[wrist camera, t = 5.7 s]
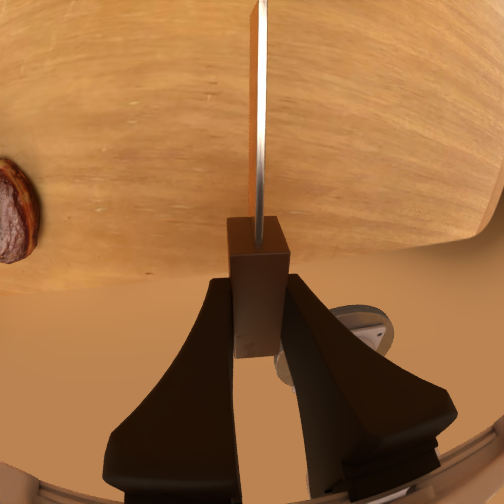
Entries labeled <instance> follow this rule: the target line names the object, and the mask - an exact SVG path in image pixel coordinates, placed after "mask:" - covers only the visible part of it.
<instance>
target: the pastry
mask: <svg viewBox="0 0 504 504" xmlns="http://www.w3.org/2000/svg"><path fill="white" fill-rule="evenodd" d="M39 221H40V216H39V211H38V205H37V201H36V198H35V195H34V192H33V188H32V185H31V183H30V182H29V180H28V179H27V178H26V177H25V176H24V175H23V173H22V172H21V171H20V170H19V169H18V167H17V166H16V165H15V164H13V163H12V162H10V161H8V160H7V159H3V160H0V262H2V263H6V264H11V263H14V262H17V261H20V260H22V259H24V258H26V257H27V256H29V255H30V254H31V253H32V251H33V250H34V248H35V247H36V246H37V238H38V229H39Z"/></svg>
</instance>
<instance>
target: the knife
mask: <svg viewBox="0 0 504 504" xmlns="http://www.w3.org/2000/svg"><path fill="white" fill-rule="evenodd" d="M267 39H268V0H258V1H257V3H256V4H255V6H254V8H253V10H252V12H251V14H250V65H249V217H233V218H227V243H228V266H229V278H230V289H231V301H232V321H233V339H234V358H235V359H239V358H253V357H264V356H276V355H279V351H280V343H281V339H280V335H281V327H282V318H283V309H284V300H285V291H286V287H287V283H288V272H289V263H290V253H291V252H290V250H289V247H288V244H287V242H286V239H285V237H284V234H283V231H282V229H281V226H280V224H279V221H278V219H277V216H264V185H265V147H266V101H267Z"/></svg>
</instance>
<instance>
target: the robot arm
mask: <svg viewBox="0 0 504 504" xmlns="http://www.w3.org/2000/svg"><path fill="white" fill-rule="evenodd" d="M385 330H386V328H385V326H384V325H376V326H371V327H365V328H359V329H353V330H349V329H348V328H347V327H346V326H345V325H343V324H342V323H341V322H340V321H339V320H338V319H337V318H336V317H335V316H334V315H333V314H332V313H331V312H330V311H329V309H328V308H327V307H326V306H325V305H324V304H323V303H322V302H321V301H320V300H319V299H318V298H317V297H316V295H315V294H314V293H313V292H312V291H311V290H310V289H309V287H308V286H307V285H306V284H305V283H304V281H303V280H302V279H301V278H300V276H298V274H288V283H287V287H286V291H285V300H284V309H283V318H282V327H281V335H280V339H281V343H282V347H283V350H284V353H285V357H286V360H287V364H288V367H289V371H290V374H291V377H292V381H293V388H292V391H293V393H296V396H297V401H298V406H299V412H300V418H301V424H302V431H303V437H304V444H305V452H306V460H307V474H306V482H307V490H308V494H309V498H310V500H306V501H300V502H295V503H288V504H485V503H486V502H488V501H489V500H490V499H491V498H492V497H493V496H494V495H495V494H496V493H497V492H498V491H499V490H500V489H501V488H502V487H503V486H504V415H503V416H502V417H501V418H499V419H498V420H497V421H496V422H495V423H494V424H493V425H492V426H490V427H489V428H487V429H486V430H484V431H483V432H481V433H479V434H478V435H476V436H475V437H473V438H471V439H469V440H468V441H466V442H464V443H463V444H461V445H459V446H457V447H455V448H453V449H452V450H450V451H448V452H446V453H444V454H442V455H440V453H439V451H438V448H437V447H438V442H437V440H436V436H437V435H439V434H440V433H441V432H442V431H443V430H445V429H446V428H447V427H448V426H449V425H450V424H451V423H452V422H453V421H454V420H455V419H456V418H457V415H458V412H457V410H456V408H455V406H454V404H453V402H452V399H451V398H450V396H449V394H448V392H447V391H446V390H445V389H443V388H441V387H439V386H436V385H434V384H432V383H430V382H427V381H425V380H423V379H421V378H419V377H417V376H415V375H413V374H411V373H410V372H408V371H406V370H404V369H402V368H401V367H399V366H397V365H396V364H394V363H392V362H391V361H389V360H388V359H386V358H385V357H383V356H382V355H380V354H379V353H377V352H376V350H377V348H378V346H379V343H380V341H381V339H382V337H383V335H384V332H385ZM233 350H234V339H233V321H232V301H231V289H230V278H213V279H212V280H210V282H209V287H208V291H207V294H206V297H205V300H204V303H203V305H202V308H201V310H200V312H199V315H198V317H197V319H196V321H195V324H194V326H193V328H192V329H191V332H190V333H189V335H188V337H187V339H186V341H185V343H184V345H183V346H182V348H181V350H180V351H179V353H178V355H177V356H176V358H175V359H174V361H173V362H172V364H171V366H170V367H169V368H168V370H167V371H166V372H165V374H164V375H163V377H162V378H161V379H160V381H159V382H158V384H157V385H156V386H155V387H154V388H153V390H152V391H151V392H150V393H149V394H148V395H147V397H146V398H145V399H144V400H143V401H142V402H141V404H140V405H139V406H138V407H137V408H136V409H135V410H134V411H133V412H132V413H131V414H130V415H129V416H128V417H127V418H126V419H125V420H124V421H123V422H122V423H121V424H120V425H119V426H118V427H117V428H116V429H115V430H114V431H113V432H112V433H111V435H110V437H109V441H108V444H107V448H106V451H105V456H104V465H103V475H102V477H103V480H104V481H105V482H106V483H108V484H109V485H111V486H113V487H115V488H117V489H119V490H121V491H123V492H125V496H124V502H118V501H112V500H108V499H103V498H98V497H94V496H90V495H86V494H82V493H78V492H74V491H71V490H68V489H65V488H61V487H58V486H55V485H52V484H49V483H46V482H43V481H41V480H39V479H38V478H36V477H34V476H32V475H30V474H28V473H26V472H24V471H22V470H20V469H17V468H15V467H13V466H10V465H8V464H6V463H4V462H0V504H242V492H241V483H240V474H239V465H238V455H237V445H236V435H235V423H234V413H233Z"/></svg>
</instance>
